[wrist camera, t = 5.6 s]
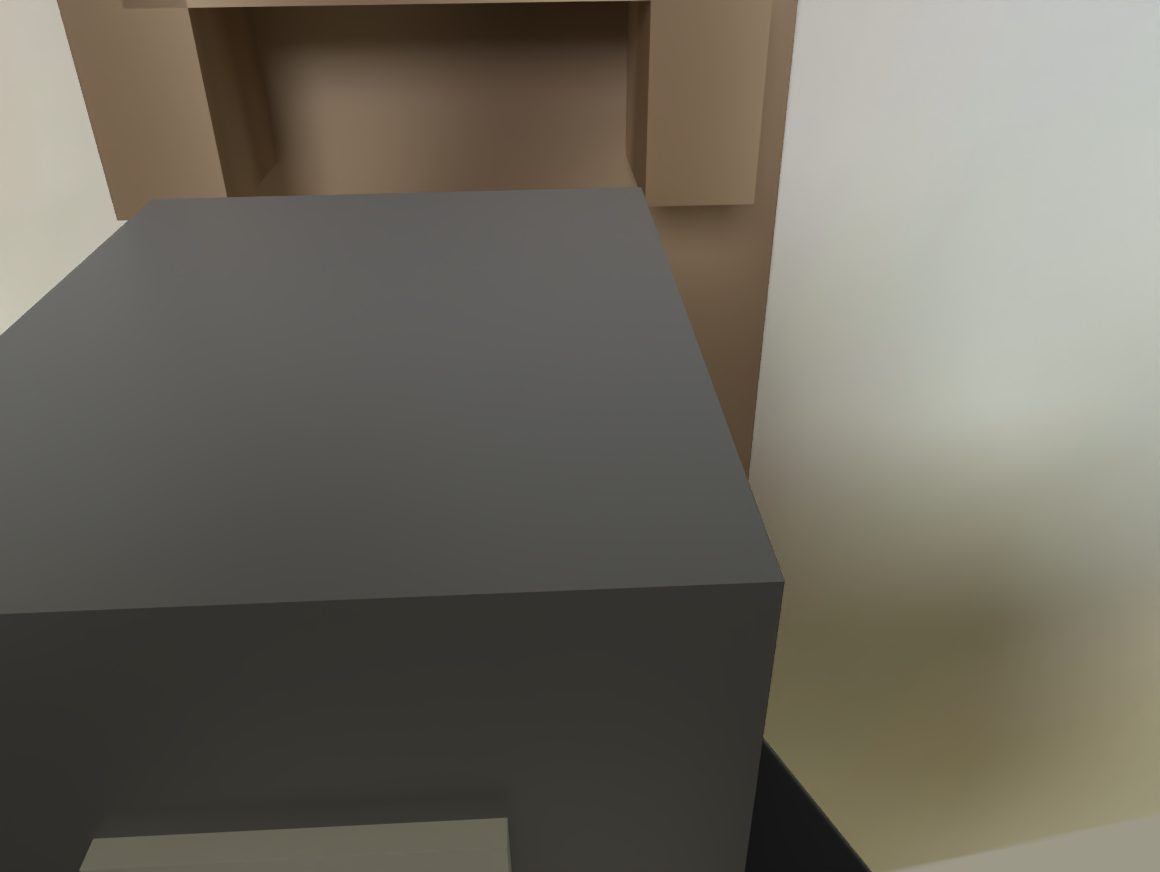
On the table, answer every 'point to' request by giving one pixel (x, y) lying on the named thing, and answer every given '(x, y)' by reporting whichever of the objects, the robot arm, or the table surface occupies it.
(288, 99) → the cradle board
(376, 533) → the power strip
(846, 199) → the table surface
